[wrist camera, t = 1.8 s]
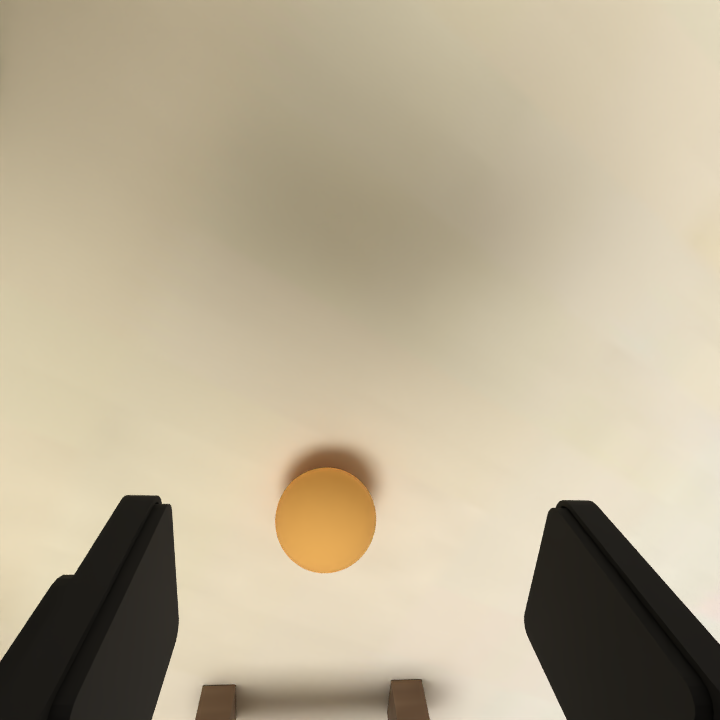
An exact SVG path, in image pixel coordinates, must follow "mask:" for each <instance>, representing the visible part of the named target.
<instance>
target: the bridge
mask: <svg viewBox="0 0 720 720" xmlns="http://www.w3.org/2000/svg"><path fill="white" fill-rule="evenodd" d="M387 715H388V720H430V718H429V714H428V709H427V704H426V700H425V695H424V690H423V685H422V681H421V680H391V687H390V695H389V703H388V711H387ZM195 720H236V694H235V685H218V686H203V688H202V692H201V697H200V701H199V705H198V710H197V714H196V719H195Z"/></svg>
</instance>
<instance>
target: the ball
mask: <svg viewBox="0 0 720 720" xmlns="http://www.w3.org/2000/svg"><path fill="white" fill-rule="evenodd" d="M275 525H276V532H277V537H278V540H279V542H280V544H281V547H282V548H283V550H284V552H285V553H286V554H287V555H288V557H289V558H290V559H291V560H292V561H293V562H295V563H296V564H297V565H299V566H300V567H302V568H304V569H306V570H309V571H313V572H317V573H332V572H337V571H340V570H343V569H345V568H347V567H349V566H351V565H352V564H354V563H355V562H356V561H357V560H359V559H360V558H361V557H362V555H363V554H364V553H365V552H366V550H367V549H368V547H369V545H370V543H371V541H372V538H373V535H374V532H375V526H376V512H375V507H374V503H373V500H372V497H371V495H370V493H369V492H368V490H367V489H366V487H365V486H364V485H363V484H362V483H361V481H360V480H358V479H357V478H356V477H355V476H353V475H352V474H350V473H348V472H346V471H344V470H340V469H336V468H328V467H327V468H317V469H313V470H310V471H308V472H305V473H304V474H302V475H300V476H299V477H297V478H296V479H295V480H293V481H292V482H291V483H290V485H289V486H288V487H287V488H286V489H285V491H284V493H283V494H282V496H281V498H280V501H279V503H278V506H277V511H276V518H275Z"/></svg>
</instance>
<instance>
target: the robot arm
mask: <svg viewBox="0 0 720 720" xmlns="http://www.w3.org/2000/svg"><path fill="white" fill-rule="evenodd" d="M524 624H525V629H526V633H527V636H528V638H529V640H530V642H531V645H532V647H533V649H534V651H535V653H536V655H537V657H538V659H539V662H540V664H541V666H542V668H543V670H544V672H545V674H546V676H547V678H548V681H549V683H550V685H551V687H552V689H553V691H554V693H555V695H556V698H557V700H558V702H559V704H560V706H561V708H562V710H563V712H564V715H565V717H566V719H567V720H720V644H719V643H718V642H717V641H716V640H715V639H714V637H713V636H712V635H711V634H710V633H709V632H708V631H707V629H706V628H705V627H704V626H703V625H702V624H701V623H700V622H699V620H698V619H697V618H696V617H695V616H694V615H693V614H692V613H691V611H690V610H689V609H688V608H687V607H686V606H685V605H684V603H683V602H682V601H681V600H680V599H679V598H678V597H677V596H676V594H675V593H674V592H673V591H672V590H671V589H670V588H669V586H668V585H667V584H666V583H665V582H664V581H663V580H662V579H661V577H660V576H659V575H658V574H657V573H656V572H655V571H654V569H653V568H652V567H651V566H650V565H649V564H648V563H647V562H646V560H645V559H644V558H643V557H642V556H641V555H640V554H639V552H638V551H637V550H636V549H635V548H634V547H633V546H632V545H631V543H630V542H629V541H628V540H627V539H626V538H625V537H624V536H623V534H622V533H621V532H620V531H619V530H618V529H617V528H616V526H615V525H614V524H613V523H612V522H611V521H610V520H609V519H608V517H607V516H606V515H605V514H604V513H603V512H602V511H601V509H600V508H599V507H598V506H597V505H596V504H595V503H594V502H592V501H582V500H562V501H559V503H558V504H557V506H556V508H551V509H550V510H549V512H548V515H547V520H546V524H545V528H544V532H543V537H542V541H541V545H540V550H539V554H538V558H537V563H536V567H535V571H534V575H533V580H532V584H531V588H530V593H529V597H528V601H527V606H526V610H525V615H524ZM178 625H179V615H178V599H177V583H176V567H175V552H174V536H173V520H172V508H171V505H170V504H162V502H161V499H160V497H159V496H149V495H126V496H124V497H123V498H122V499H121V501H120V503H119V504H118V506H117V507H116V509H115V511H114V512H113V514H112V515H111V517H110V519H109V520H108V522H107V523H106V525H105V527H104V528H103V530H102V531H101V533H100V534H99V536H98V538H97V539H96V541H95V542H94V544H93V546H92V547H91V549H90V550H89V552H88V554H87V555H86V557H85V558H84V560H83V562H82V563H81V565H80V566H79V568H78V570H77V571H76V573H75V574H74V575H62V576H61V577H59V578H57V579H56V581H55V582H54V583H53V584H52V585H51V587H50V588H49V590H48V591H47V593H46V594H45V596H44V597H43V599H42V600H41V602H40V603H39V605H38V606H37V608H36V609H35V611H34V612H33V614H32V615H31V617H30V618H29V620H28V621H27V623H26V624H25V626H24V627H23V629H22V630H21V632H20V633H19V635H18V636H17V638H16V639H15V641H14V642H13V643H12V645H11V646H10V648H9V649H8V651H7V652H6V654H5V655H4V657H3V658H2V660H1V661H0V720H152V716H153V713H154V710H155V707H156V704H157V700H158V697H159V694H160V691H161V688H162V684H163V681H164V678H165V675H166V671H167V668H168V665H169V662H170V659H171V655H172V652H173V649H174V646H175V642H176V638H177V633H178Z"/></svg>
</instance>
